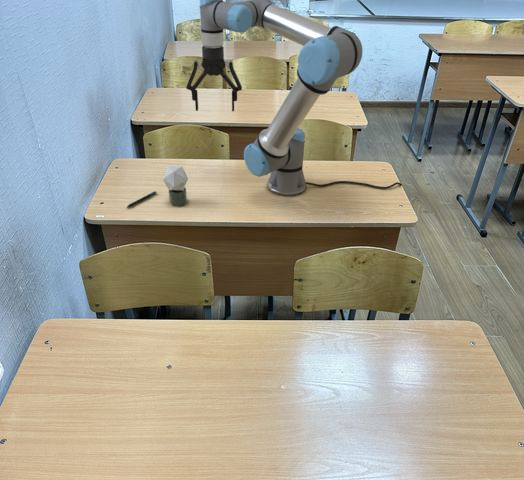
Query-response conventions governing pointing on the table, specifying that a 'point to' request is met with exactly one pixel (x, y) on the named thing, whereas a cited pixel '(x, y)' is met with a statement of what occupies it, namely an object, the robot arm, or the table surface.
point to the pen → (141, 199)
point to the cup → (178, 197)
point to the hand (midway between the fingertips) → (215, 110)
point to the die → (175, 178)
